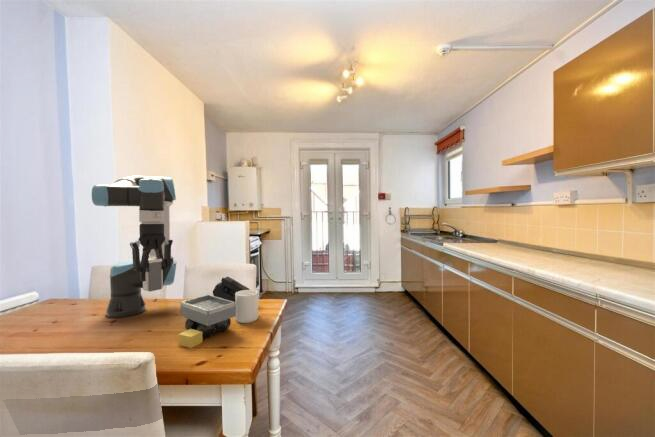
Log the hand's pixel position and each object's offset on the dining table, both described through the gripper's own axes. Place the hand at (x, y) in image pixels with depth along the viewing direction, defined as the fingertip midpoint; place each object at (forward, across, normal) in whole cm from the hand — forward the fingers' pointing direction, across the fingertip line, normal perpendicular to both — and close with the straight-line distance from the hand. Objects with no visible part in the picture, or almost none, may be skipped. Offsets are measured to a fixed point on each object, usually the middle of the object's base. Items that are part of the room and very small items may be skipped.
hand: (153, 288), depth 103 cm
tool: (+20, +41, +10) cm, 46 cm away
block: (+20, +7, -12) cm, 24 cm away
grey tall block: (0, 0, 0) cm, 0 cm away
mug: (+20, +35, -9) cm, 41 cm away
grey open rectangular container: (+20, +17, -7) cm, 27 cm away
